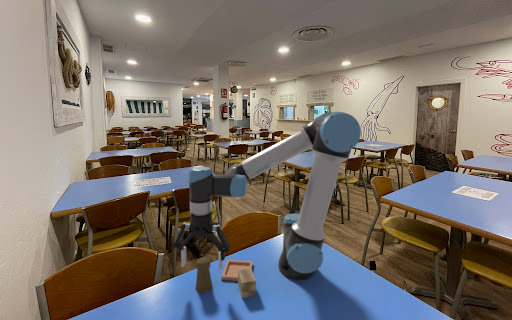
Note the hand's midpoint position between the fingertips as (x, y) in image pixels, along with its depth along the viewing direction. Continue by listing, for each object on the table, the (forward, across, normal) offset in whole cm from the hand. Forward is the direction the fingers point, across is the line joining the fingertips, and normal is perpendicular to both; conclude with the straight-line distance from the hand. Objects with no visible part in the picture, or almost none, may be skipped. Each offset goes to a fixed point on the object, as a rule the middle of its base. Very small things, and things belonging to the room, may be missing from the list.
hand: (202, 266), depth 88 cm
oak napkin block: (+8, -17, 0) cm, 19 cm away
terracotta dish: (+8, -12, -10) cm, 17 cm away
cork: (+9, -1, 0) cm, 9 cm away
